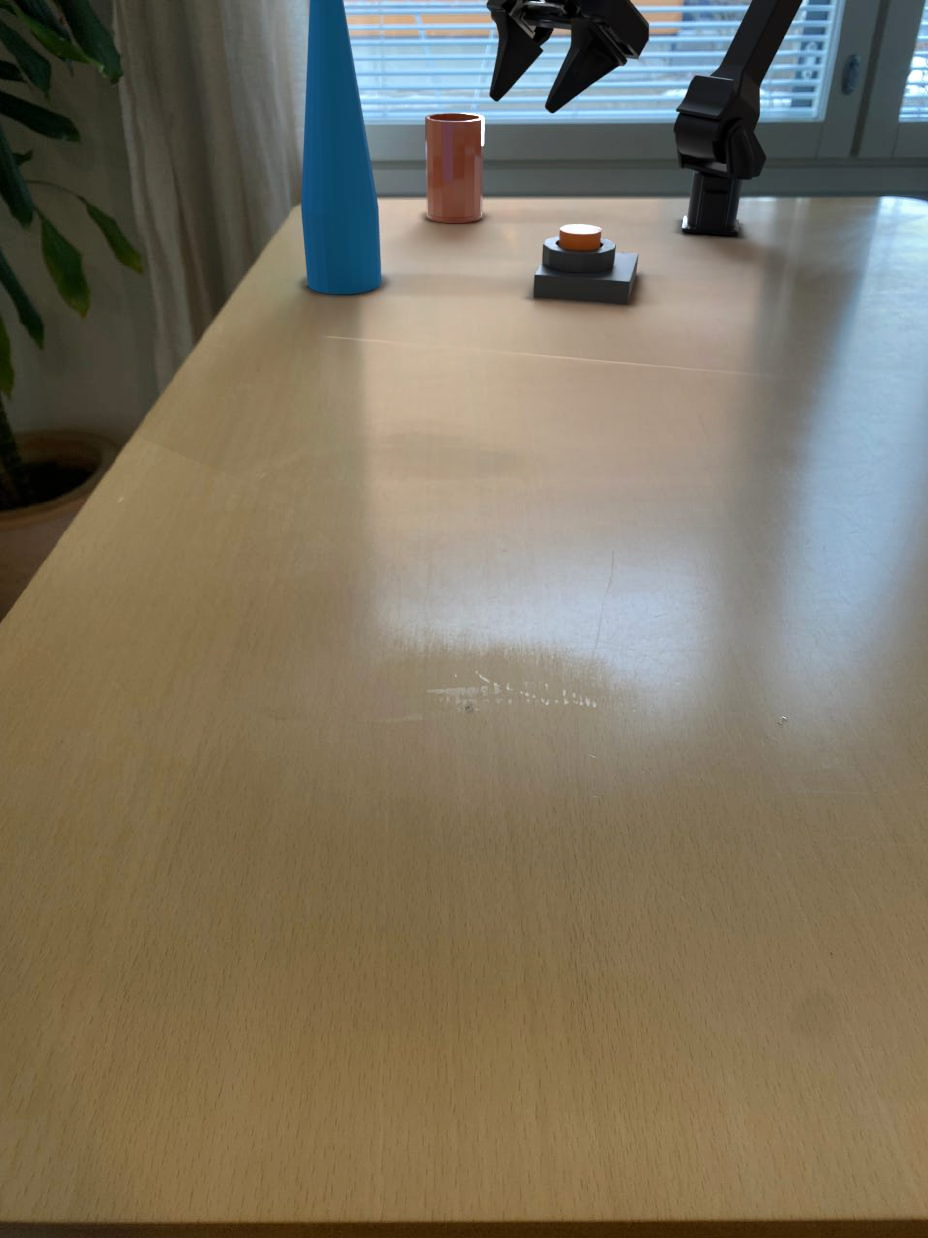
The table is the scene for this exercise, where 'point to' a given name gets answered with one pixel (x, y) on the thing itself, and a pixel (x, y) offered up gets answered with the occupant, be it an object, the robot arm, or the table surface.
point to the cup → (454, 167)
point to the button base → (585, 273)
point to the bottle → (336, 164)
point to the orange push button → (580, 237)
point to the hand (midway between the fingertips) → (519, 104)
